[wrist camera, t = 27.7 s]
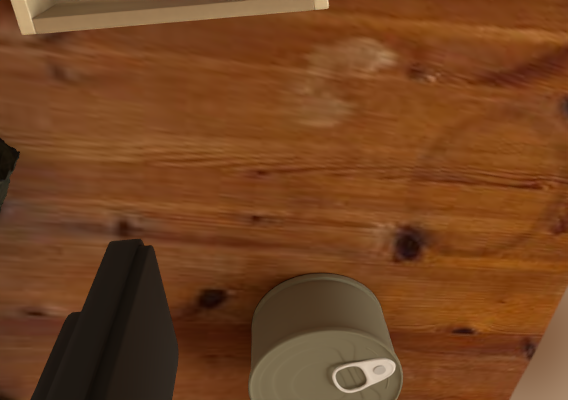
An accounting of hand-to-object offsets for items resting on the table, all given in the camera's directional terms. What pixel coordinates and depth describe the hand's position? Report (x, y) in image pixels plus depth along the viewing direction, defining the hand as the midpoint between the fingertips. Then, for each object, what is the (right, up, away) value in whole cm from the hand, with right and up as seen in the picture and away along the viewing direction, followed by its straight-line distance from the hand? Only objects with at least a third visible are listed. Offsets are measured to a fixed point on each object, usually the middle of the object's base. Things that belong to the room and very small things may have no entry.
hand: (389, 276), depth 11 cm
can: (+1, -9, +37) cm, 38 cm away
